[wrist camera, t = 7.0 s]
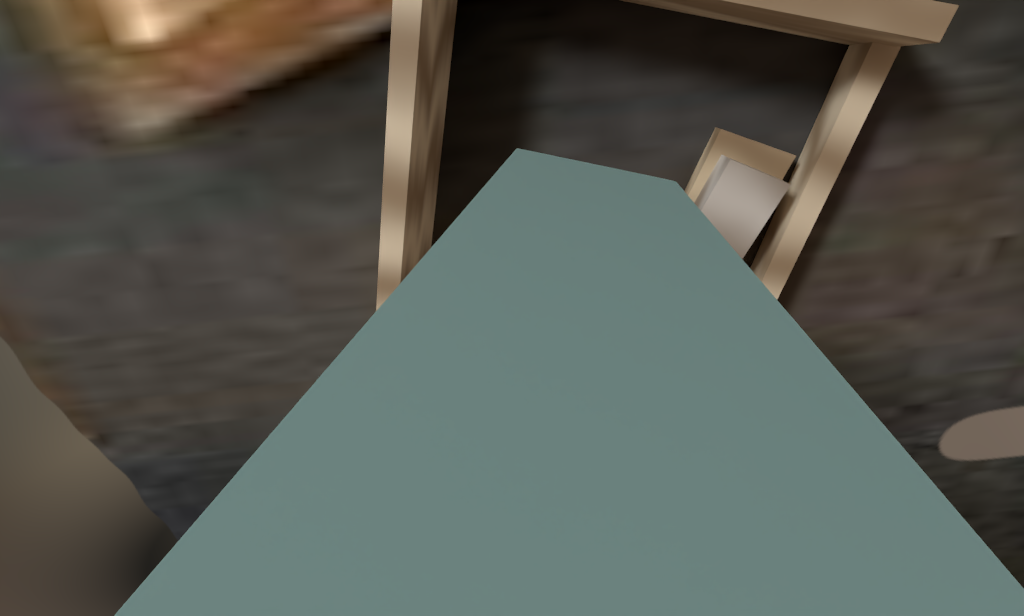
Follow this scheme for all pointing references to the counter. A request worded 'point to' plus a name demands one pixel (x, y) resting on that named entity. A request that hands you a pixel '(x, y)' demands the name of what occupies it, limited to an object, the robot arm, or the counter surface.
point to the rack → (760, 3)
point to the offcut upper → (739, 201)
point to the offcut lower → (737, 158)
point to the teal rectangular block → (580, 443)
